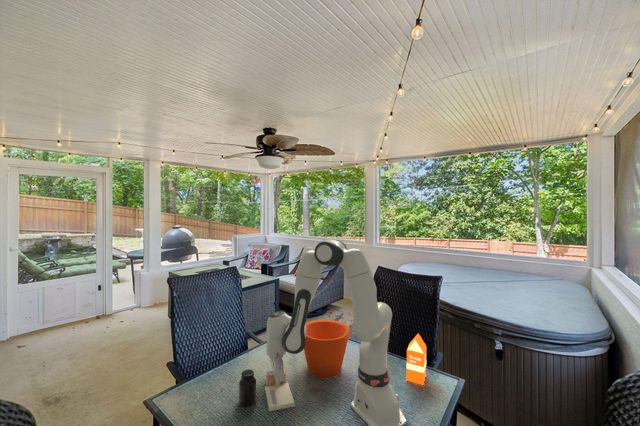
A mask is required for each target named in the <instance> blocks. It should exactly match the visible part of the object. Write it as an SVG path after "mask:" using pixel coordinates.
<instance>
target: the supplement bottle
mask: <svg viewBox="0 0 640 426" xmlns="http://www.w3.org/2000/svg"><path fill="white" fill-rule="evenodd" d="M254 374H255V373H254V370H253V369H245V370H242V372H241V378H240V380H239V381H238V404H239V406H241V407H242V408H249V407H252V406H254V405H255V404H256V402H257V379H256V377H255V375H254Z"/></svg>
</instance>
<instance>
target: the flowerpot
mask: <svg viewBox="0 0 640 426" xmlns="http://www.w3.org/2000/svg"><path fill="white" fill-rule="evenodd" d="M306 325H307V333H306V345H305V348H304V349H303V352H304V355H305V361H306V365H307V370H308V373H309V374H310V375H311V376H313V377H314V376H315V378H317V379H322V378H323V380H325V379H326V380H327V379H333V378H335V377H337V376H339V375H340V373H341V369H342V366H343V363H344V362H343V361H344V358H345V354H346V348H347V345H348V342H349V338H350V333H351V328H350V327H349V326H348V325H347V324H345V323H343V322H342V321H337V320H333V319H316V320H314V319H313V320H311V321H306Z"/></svg>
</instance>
